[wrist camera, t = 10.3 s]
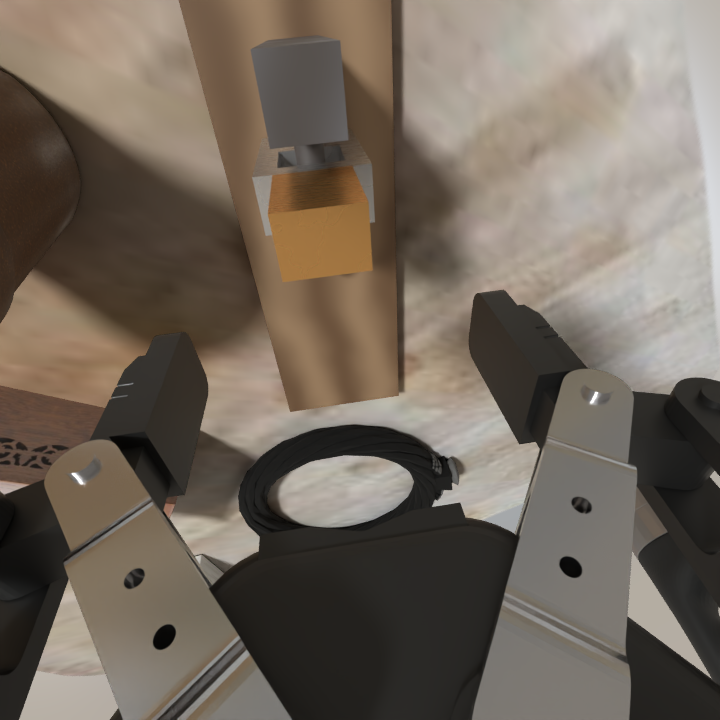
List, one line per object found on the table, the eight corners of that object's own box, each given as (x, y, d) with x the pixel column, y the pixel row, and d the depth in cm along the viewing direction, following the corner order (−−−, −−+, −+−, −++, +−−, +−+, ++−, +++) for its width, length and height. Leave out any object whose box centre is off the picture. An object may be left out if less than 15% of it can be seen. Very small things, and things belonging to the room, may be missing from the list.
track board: (385, -27, 24) (479, -80, 12) (395, 386, 46) (432, 511, 34) (181, -8, 23) (69, -46, 11) (290, 402, 45) (290, 535, 33)
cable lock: (198, 475, 46) (456, 414, 45) (204, 448, 49) (446, 390, 48) (278, 573, 64) (464, 530, 63) (278, 549, 67) (456, 508, 66)
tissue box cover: (194, 425, 46) (175, 504, 38) (166, 495, 53) (146, 573, 46) (-106, 360, 36) (-213, 450, 28) (-89, 457, 43) (-170, 550, 36)
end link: (350, 128, 27) (393, 198, 16) (360, 256, 33) (397, 372, 22) (261, 138, 27) (241, 217, 16) (288, 265, 33) (287, 388, 22)
